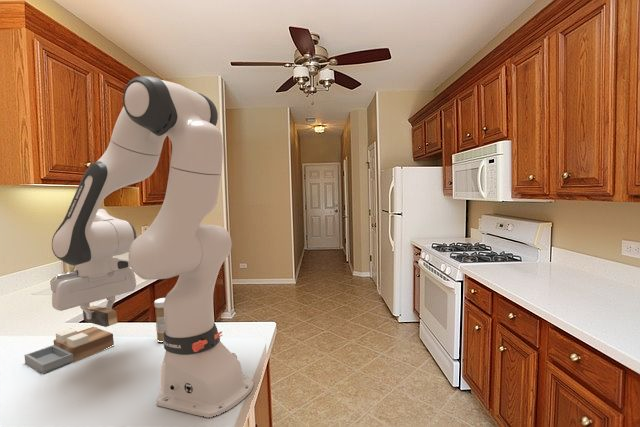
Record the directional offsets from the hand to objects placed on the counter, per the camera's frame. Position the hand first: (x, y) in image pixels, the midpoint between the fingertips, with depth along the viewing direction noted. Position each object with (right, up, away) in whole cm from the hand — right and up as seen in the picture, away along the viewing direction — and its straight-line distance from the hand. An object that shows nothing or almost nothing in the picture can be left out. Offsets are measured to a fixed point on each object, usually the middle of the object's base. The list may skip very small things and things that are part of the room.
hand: (99, 315), depth 93 cm
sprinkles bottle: (+12, -12, +14) cm, 22 cm away
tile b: (-15, -9, +8) cm, 20 cm away
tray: (-15, -14, +1) cm, 21 cm away
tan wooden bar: (0, -2, 0) cm, 2 cm away
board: (-11, -13, +9) cm, 19 cm away
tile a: (-9, -10, +4) cm, 14 cm away
